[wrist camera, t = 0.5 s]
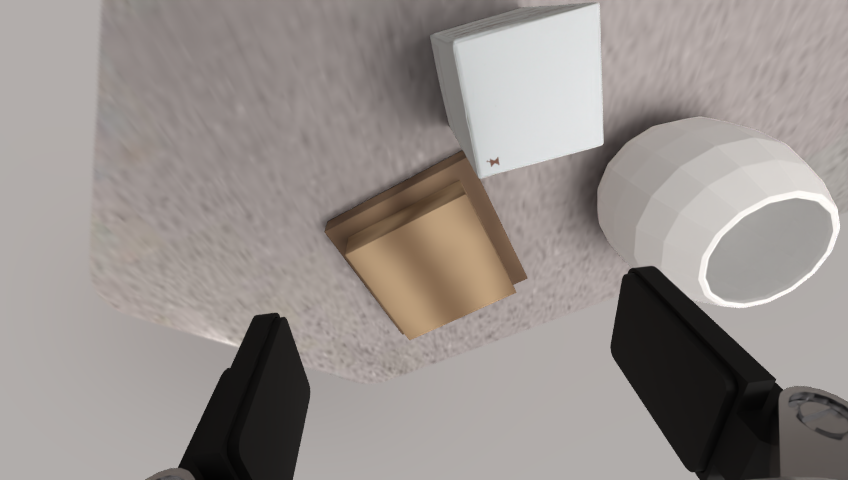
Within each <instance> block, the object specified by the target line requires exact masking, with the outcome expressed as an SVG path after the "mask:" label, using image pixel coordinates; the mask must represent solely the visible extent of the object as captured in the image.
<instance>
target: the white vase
mask: <svg viewBox="0 0 848 480" xmlns="http://www.w3.org/2000/svg"><path fill="white" fill-rule="evenodd" d="M597 212H598V219H599V225H600V227H601V229H602V230H603V232H604V234H605V236H606V238H607V240H608V242H609V244H610V245H611V246H612V248H613V249H614V250H615V251H616V252H617V253H618V254H619V256H620V257H621V258H622V259H623V260H624V261H625V262H626V263H627V264H629V265H630V266H631V267H632V268H637V267H645V266H655V267H656V268H657V269H659V270H660V271H661V272H662V273H663V274H664V275H665V276H666V277H667V278H668V279H669V280H670V281H671V282H672V283H674V284H675V285H676V286H677V287H678V288H679V289H680V290H681V291H682V292H683V293H684V294H685V295H686V296H687V297H689V298H690V299H691V300H694V301H699V302H704V303H709V304H714V305H719V306H726V307H735V308H745V307H749V306H755V305H760V304H765V303H768V302H770V301H772V300H774V299H776V298H778V297H780V296H782V295H784V294H787V293H789V292H791V291H792V290H794V289H795V288H796V287H797V286H799V285H800V284H801V283H803V282H804V281H805V280H806V279H808V278H809V277H810V276H811V275H813V274H814V273H815V272H816V271H817V269H818V268H819V267H820V266H821V264H822V263H823V262H824V261H825V259H826V258H827V257H828V256H829V254H830V253H831V252H832V250H833V247H834V244H835V241H836V238H837V235H838V232H839V230H840V224H839V217H838V210H837V207H836V205H835V203H834V201H833V199H832V197H831V195H830V193H829V192H828V190H827V188H826V186H825V184H824V182H823V181H822V180H821V179H820V177H819V176H818V175H817V174H816V173H815V172H814V171H813V170H812V169H811V168H810V167H809V165H808V164H807V163H806V162H805V161H804V160H803V159H802V158H801V157H800V156H798V155H797V154H796V153H795V152H794V151H793V150H792V149H791V148H790V147H789V146H788V145H787V144H786V143H784V142H782V141H780V140H778V139H775V138H773V137H771V136H769V135H767V134H765V133H763V132H761V131H759V130H757V129H753V128H750V127H746V126H742V125H739V124H735V123H732V122H728V121H723V120H718V119H713V118H708V117H702V116H697V117H692V118H687V119H682V120H677V121H673V122H669V123H664V124H660V125H655V126H652V127H651V128H649V129H647V130H646V131H644V132H642V133H641V134H639V135H638V136H636V137H634V138H633V139H631V140H629V141H628V142H627V143H626V144H625V145H624V146H623V147H622V148H621V150H620V151H619V152H618V153H617V154H616V155H615V156H614V158H613V159H612V160H611V161H610V162H609V163H608V165H607V167H606V169H605V172H604V174H603V177H602V179H601V181H600V184H599V186H598V188H597Z"/></svg>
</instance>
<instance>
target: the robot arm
mask: <svg viewBox="0 0 848 480" xmlns="http://www.w3.org/2000/svg"><path fill="white" fill-rule="evenodd" d="M611 353H612V356H613V358H614V360H615V361H616V363H617V364H618V366H619V367H620V369H621V370H622V372H623V373H624V375H625V377H626V378H627V380H628V381H629V383H630V384H631V386H632V387H633V389H634V390H635V391H636V393H637V394H638V396H639V398H640V399H641V401H642V402H643V404H644V405H645V407H646V408H647V410H648V411H649V413H650V414H651V416H652V417H653V419H654V421H655V422H656V424H657V425H658V426H659V428H660V429H661V431H662V433H663V434H664V436H665V437H666V439H667V440H668V442H669V443H670V445H671V446H672V448H673V449H674V451H675V452H676V454H677V455H678V457H679V458H680V460H681V461H682V463H683V464H684V466H685V467H686V468H687V469H688V470H689V471H690V472H695V473H696V475H697V476H698V478H699V479H700V480H848V402H847V401H845V400H844V399H842V398H840V397H838V396H836V395H834V394H831V393H829V392H826V391H824V390H820V389H816V388H812V387H805V386H794V387H789V388H786V389H785V390H783V389H782V388H781V387H780V386H779V385H778V384H776V383H775V381H776V379H775V378H774V377H773V376H772V375H771V374H770V373H769V372H768V371H767V370H766V369H765V368H764V367H762V366H761V365H760V364H759V363H758V362H757V361H756V360H755V359H754V358H753V357H752V356H751V355H750V354H749V353H747V352H746V351H745V350H744V349H743V348H742V347H741V346H740V345H739V344H738V343H737V342H736V341H735V340H734V339H732V338H731V337H730V336H729V335H728V334H727V333H726V332H725V331H724V330H723V329H722V328H721V327H719V325H717V324H716V323H715V322H714V321H713V320H712V319H711V318H710V317H709V316H708V315H707V314H706V313H705V312H704V311H702V310H701V309H700V308H699V307H698V306H697V305H696V304H695V303H694V302H693V301H692V300H691V299H690V298H689V297H687V296H686V295H685V294H684V293H683V292H682V291H681V290H680V289H679V288H678V287H677V286H676V285H675V284H674V283H672V282H671V281H670V280H669V279H668V278H667V277H666V276H665V275H664V274H663V273H662V272H661V271H660V270H659V269H657V268H656V267H655V266H645V267H637V268H631V269H630V270H629V271H628V274H625V275H624V276H623V278H622V283H621V289H620V294H619V300H618V306H617V312H616V317H615V323H614V329H613V335H612V340H611ZM309 399H310V386H309V382H308V380H307V376H306V374H305V371H304V368H303V365H302V362H301V359H300V356H299V353H298V350H297V347H296V344H295V341H294V338H293V336H292V333H291V330H290V327H289V324H288V321H287V319H286V318H285V317H281V318H280V316H279V314H278V313H270V314H262V315H256V316H254V318H253V319H252V321H251V324H250V326H249V328H248V330H247V332H246V335H245V337H244V339H243V341H242V343H241V346H240V348H239V350H238V352H237V354H236V357H235V359H234V361H233V363H232V366H231V368H227V369H226V370H225V371H224V372H223V374H222V375H221V377H220V379H219V381H218V384H217V386H216V388H215V390H214V392H213V394H212V396H211V398H210V400H209V403H208V405H207V407H206V409H205V411H204V413H203V415H202V418H201V420H200V422H199V424H198V426H197V428H196V430H195V432H194V434H193V437H192V439H191V441H190V443H189V445H188V447H187V449H186V451H185V454H184V456H183V458H182V460H181V462H180V464H179V466H178V468H171V469H167V470H164V471H161V472H158V473H156V474H154V475H153V476H151V477H149V478H147V479H146V480H293V476H294V471H295V466H296V462H297V457H298V451H299V447H300V442H301V437H302V433H303V428H304V423H305V418H306V413H307V409H308V404H309Z"/></svg>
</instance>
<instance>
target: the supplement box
mask: <svg viewBox="0 0 848 480" xmlns="http://www.w3.org/2000/svg"><path fill="white" fill-rule="evenodd" d="M430 40H431V45H432V50H433V55H434V60H435V65H436V69H437V74H438V79H439V84H440V88H441V93H442V97H443V101H444V106H445V110H446V114H447V118H448V122H449V126H450V128H451V130H452V131H453V133H454V135H455V137H456V139H457V140H458V142H459V144H460V146H461V148H462V150H463V151H464V153H465V155H466V157H467V159H468V160H469V162H470V164H471V166H472V168H473V170H474V171H475V173H476V175H477V177H478V178H479V179H482V178H485V177H489V176H492V175H495V174H499V173H502V172H506V171H509V170H513V169H516V168H520V167H524V166H528V165H532V164H535V163H539V162H543V161H547V160H550V159H554V158H558V157H562V156H565V155H569V154H573V153H577V152H580V151H585V150H588V149H592V148H595V147H599V146H601V145H603V144H604V136H603V97H602V62H601V30H600V4H599V3H582V4H568V5H558V6H539V7H522V8H519V9H516V10H512V11H509V12H505V13H502V14H498V15H495V16H491V17H488V18H484V19H481V20H477V21H474V22H471V23H467V24H464V25H460V26H457V27H454V28H451V29H447V30H444V31H440V32H437V33H434V34H432V35H430Z"/></svg>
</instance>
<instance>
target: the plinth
mask: <svg viewBox="0 0 848 480" xmlns="http://www.w3.org/2000/svg"><path fill="white" fill-rule="evenodd" d="M325 233H326V235H327V236H328V237H329V238H330V240H331V241H332V242H333V244H334V245H335V246H336V248H337V249H338V250H339V252H340V253H341V254H342V256H343V257H344V258H345V260H346V261H347V262H348V264H349V265H350V266H351V267H352V269H353V270H354V271H355V273H356V274H357V275H358V277H359V278H360V279H361V281H362V282H363V283H364V285H365V286H366V287H367V289H368V290H369V291H370V292H371V294H372V295H373V296H374V298H375V299H376V300H377V302H378V303H379V304H380V306H381V307H382V308H383V310H384V311H385V312H386V314H387V315H388V316H389V318H390V319H391V320H392V321H393V323H394V324H395V325H396V327H397V328H398V329H399V331H400V332H401V333H402V335H403V334H405V335H406V336H407V338H408V339H409V340H411V339H414V338H416V337H418V336H420V335H423V334H425V333H427V332H429V331H432V330H434V329H436V328H438V327H441V326H443V325H445V324H447V323H449V322H452V321H454V320H456V319H458V318H461V317H463V316H465V315H467V314H470V313H472V312H474V311H476V310H478V309H481V308H483V307H485V306H487V305H490V304H492V303H494V302H496V301H499V300H501V299H503V298H505V297H507V296H510V295H512V294H514V293H516V290H515V288H514V286H513V285H514V284H516V283H518V282H520V281H523V280H525V279H527V276H526V274H525V272H524V270H523V268H522V265H521V263H520V261H519V259H518V257H517V255H516V253H515V251H514V249H513V247H512V245H511V243H510V241H509V239H508V237H507V234H506V232H505V230H504V228H503V226H502V224H501V222H500V220H499V218H498V216H497V214H496V212H495V210H494V208H493V206H492V203H491V201H490V199H489V197H488V195H487V193H486V191H485V189H484V187H483V185H482V183H481V181H480V179H479V178H478V177H477V175H476V173H475V171H474V170H473V168H472V166H471V164H470V162H469V160H468V159H467V157H466V155H465V153H464V151H463V150H462V151H460V152H459V153H457V154H455V155H453V156H451V157H449V158H447V159H445V160H443V161H441V162H440V163H438V164H436V165H434V166H432V167H430V168H428V169H426V170H424V171H423V172H421V173H419V174H417V175H415V176H413V177H411V178H409V179H407V180H405V181H404V182H402V183H400V184H398V185H396V186H394V187H392V188H390V189H388V190H387V191H385V192H383V193H381V194H379V195H377V196H375V197H373V198H371V199H369V200H368V201H366V202H364V203H362V204H360V205H358V206H356V207H354V208H352V209H351V210H349V211H347V212H345V213H343V214H341V215H339V216H337V217H335V218H333V219H332V220H330V221H328V222H327V225H326V229H325Z"/></svg>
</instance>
